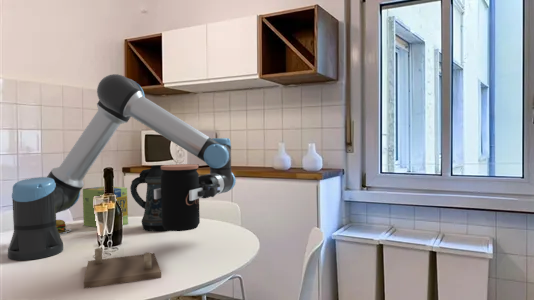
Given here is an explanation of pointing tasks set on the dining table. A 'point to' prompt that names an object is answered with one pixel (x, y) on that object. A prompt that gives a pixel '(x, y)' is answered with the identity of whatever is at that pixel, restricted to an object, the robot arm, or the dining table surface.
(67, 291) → the dining table surface
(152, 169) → the beer stein
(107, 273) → the pegged base plate
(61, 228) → the hamburger
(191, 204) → the coffee jar
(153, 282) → the dining table surface
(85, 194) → the protein box
